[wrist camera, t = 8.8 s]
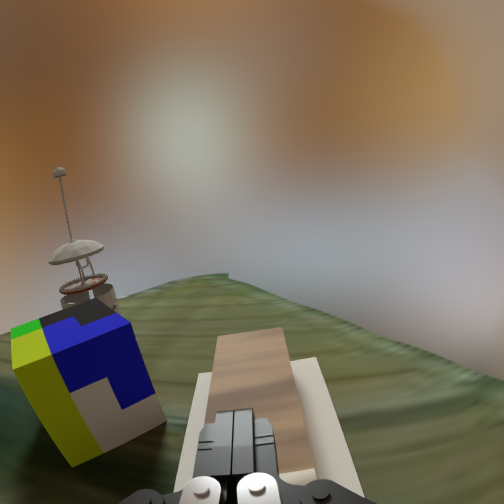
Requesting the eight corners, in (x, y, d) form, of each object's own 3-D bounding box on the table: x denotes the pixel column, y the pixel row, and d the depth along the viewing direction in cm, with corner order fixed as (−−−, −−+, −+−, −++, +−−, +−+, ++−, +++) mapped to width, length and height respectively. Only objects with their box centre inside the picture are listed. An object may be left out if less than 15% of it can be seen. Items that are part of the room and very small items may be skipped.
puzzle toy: (167, 421, 24) (130, 322, 22) (72, 468, 18) (12, 369, 16) (125, 378, 32) (96, 297, 29) (50, 411, 25) (10, 328, 23)
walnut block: (319, 490, 11) (282, 326, 29) (192, 501, 11) (217, 336, 29) (319, 525, 12) (287, 366, 30) (215, 535, 12) (227, 374, 30)
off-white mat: (366, 507, 13) (366, 504, 13) (169, 526, 13) (167, 524, 13) (316, 360, 31) (315, 357, 31) (199, 376, 31) (199, 373, 31)
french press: (70, 371, 33) (14, 174, 28) (78, 336, 44) (38, 180, 38) (139, 354, 37) (90, 152, 31) (133, 322, 47) (97, 164, 42)
